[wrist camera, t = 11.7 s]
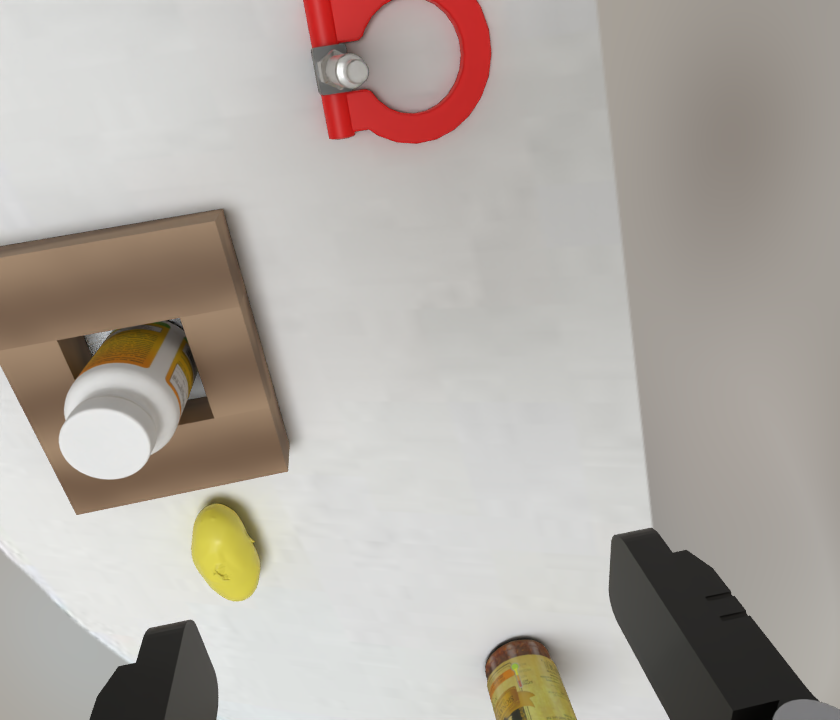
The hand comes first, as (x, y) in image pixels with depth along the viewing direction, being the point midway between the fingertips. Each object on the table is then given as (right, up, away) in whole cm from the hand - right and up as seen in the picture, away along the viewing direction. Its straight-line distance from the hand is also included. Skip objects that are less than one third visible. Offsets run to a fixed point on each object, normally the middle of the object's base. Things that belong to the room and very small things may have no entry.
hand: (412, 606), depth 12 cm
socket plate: (-16, +5, +25) cm, 30 cm away
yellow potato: (-14, -8, +32) cm, 36 cm away
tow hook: (-1, +21, +21) cm, 29 cm away
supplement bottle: (-16, +5, +25) cm, 30 cm away
